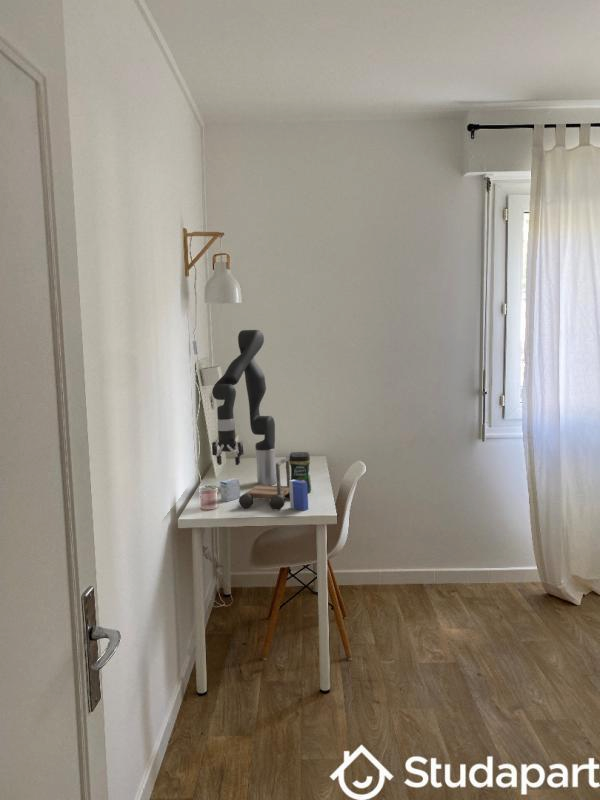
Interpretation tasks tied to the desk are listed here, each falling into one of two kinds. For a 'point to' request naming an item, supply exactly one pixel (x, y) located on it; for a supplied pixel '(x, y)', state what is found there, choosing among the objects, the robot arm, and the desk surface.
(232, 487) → the medicine box
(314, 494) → the desk surface
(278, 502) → the trolley
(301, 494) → the walkman
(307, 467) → the coffee jar
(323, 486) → the desk surface
